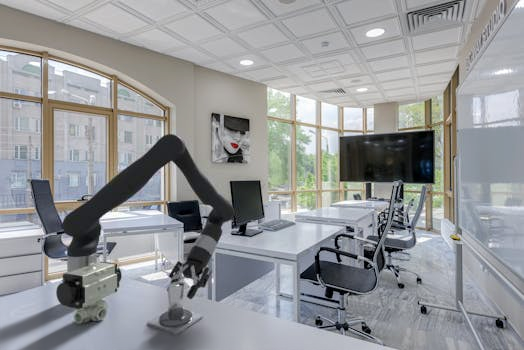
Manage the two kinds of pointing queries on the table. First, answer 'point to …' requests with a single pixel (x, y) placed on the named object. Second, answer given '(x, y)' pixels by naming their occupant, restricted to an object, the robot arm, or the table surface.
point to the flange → (175, 322)
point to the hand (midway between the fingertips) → (178, 295)
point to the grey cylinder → (175, 300)
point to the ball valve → (89, 290)
